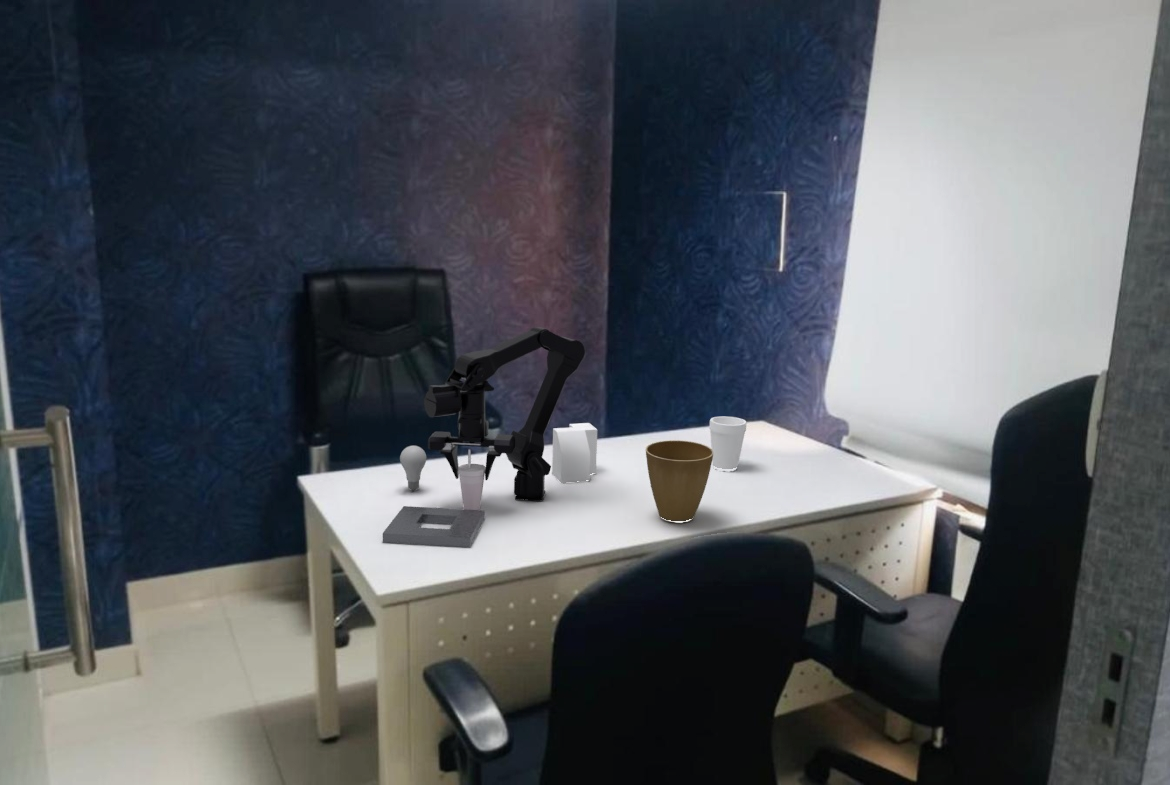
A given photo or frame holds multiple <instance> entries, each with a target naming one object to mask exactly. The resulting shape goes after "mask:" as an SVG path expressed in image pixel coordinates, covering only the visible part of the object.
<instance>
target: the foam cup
mask: <svg viewBox="0 0 1170 785" xmlns="http://www.w3.org/2000/svg"><path fill="white" fill-rule="evenodd" d="M709 431H710V443H711V447H710V448H711V449H712V450H713V452H714V454H713V459H712V467H713V466H715V467H717V468H722V469H733V468H736V467H737V466H738V467H739V461H740V459H741V458H740V457H741V452H742V449H743V443H744V439H745V434H746V431H747V421H746V420H745V419H743V418H739V417H736V416H723V415H722V416H714V417H711V418H710V420H709ZM738 467H737V468H738Z"/></svg>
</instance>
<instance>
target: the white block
mask: <svg viewBox="0 0 1170 785" xmlns="http://www.w3.org/2000/svg"><path fill="white" fill-rule="evenodd" d="M568 426H569V427H557V428H552V461H551V462H552V463H551V464H552V465H551V470H552V471H551V474H552V473H553V474H552V476H554V477H555V478H556V480H557V479H558V480H559V481H560V482H561V483H563V484H567V483H566V482H575V483H578V482H577V481H586V480H589V481H590V476H591V475H590V474H592V473H596V474H597V454H598V448H597V447H598V429H597V428H596V427H595V426H594V425H592V424H591V423H590V422H582V423H580V422H579V423H569V425H568ZM558 480H557V481H558ZM559 481H558V482H559ZM560 482H559V483H560ZM561 483H560V484H561Z"/></svg>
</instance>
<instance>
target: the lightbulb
mask: <svg viewBox="0 0 1170 785" xmlns="http://www.w3.org/2000/svg"><path fill="white" fill-rule="evenodd" d="M399 460H400V461H399V462H400V465H401V466H402V468H403V470H404V473H405V475H406V480H407V488H408V489H409V490H411V491H416V490H418V489H419V488H420V480H421V474H422V471H423V469H424V467H425V465H426V462H427V455H426V452H425V450H424V449H423V448H422V447H420V446H418V445H409V446H406V447H405V448H403V450H402V451H401V453H400V456H399Z"/></svg>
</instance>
